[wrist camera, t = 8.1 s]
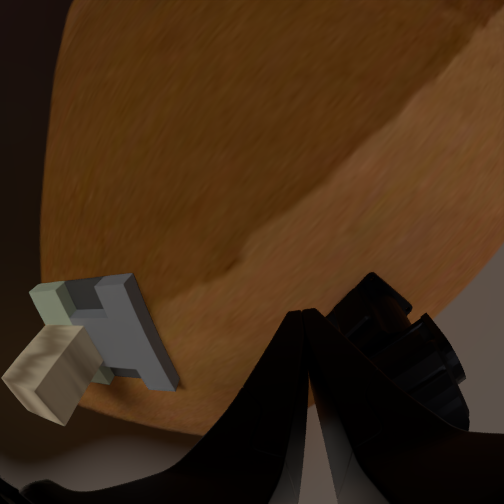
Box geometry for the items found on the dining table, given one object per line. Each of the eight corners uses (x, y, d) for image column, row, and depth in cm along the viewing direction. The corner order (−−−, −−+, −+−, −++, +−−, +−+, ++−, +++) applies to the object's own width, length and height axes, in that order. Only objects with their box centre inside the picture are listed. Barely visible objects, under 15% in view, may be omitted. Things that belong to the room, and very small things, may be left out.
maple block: (83, 325, 24) (34, 391, 15) (103, 360, 26) (65, 426, 17) (46, 324, 25) (1, 377, 16) (65, 355, 27) (27, 410, 18)
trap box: (133, 272, 23) (123, 283, 21) (179, 378, 29) (175, 391, 27) (38, 284, 25) (29, 292, 23) (86, 370, 31) (80, 379, 29)
